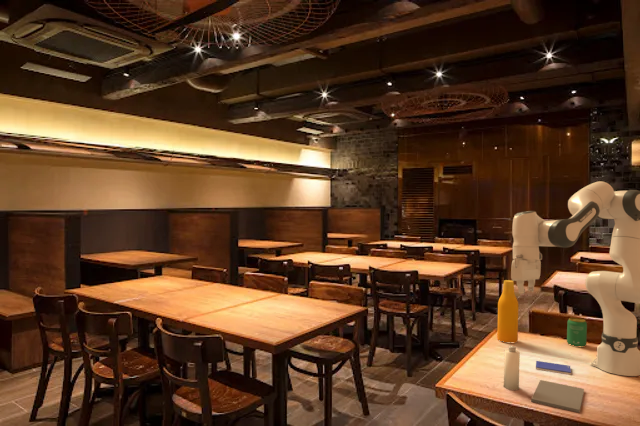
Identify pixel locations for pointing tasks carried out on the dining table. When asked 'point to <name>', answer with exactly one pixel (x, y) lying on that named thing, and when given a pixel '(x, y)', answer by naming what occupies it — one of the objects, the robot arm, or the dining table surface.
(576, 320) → the beverage can
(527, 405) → the dining table surface
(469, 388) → the dining table surface
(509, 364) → the salt mill
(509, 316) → the beer bottle
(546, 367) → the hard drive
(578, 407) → the slate board
